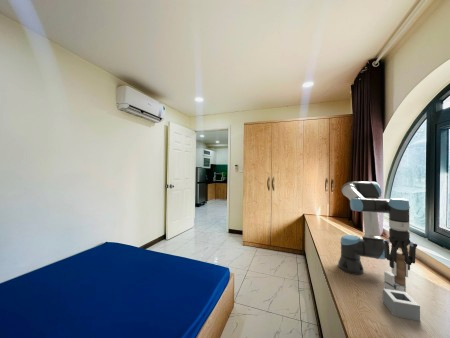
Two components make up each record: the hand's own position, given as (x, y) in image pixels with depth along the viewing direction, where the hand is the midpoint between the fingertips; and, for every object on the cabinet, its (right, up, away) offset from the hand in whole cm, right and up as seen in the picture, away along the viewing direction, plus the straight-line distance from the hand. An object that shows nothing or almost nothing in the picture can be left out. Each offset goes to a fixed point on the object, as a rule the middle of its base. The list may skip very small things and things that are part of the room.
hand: (399, 274), depth 92 cm
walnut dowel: (0, -4, 0) cm, 4 cm away
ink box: (+10, -19, +13) cm, 25 cm away
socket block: (0, -18, 0) cm, 18 cm away
